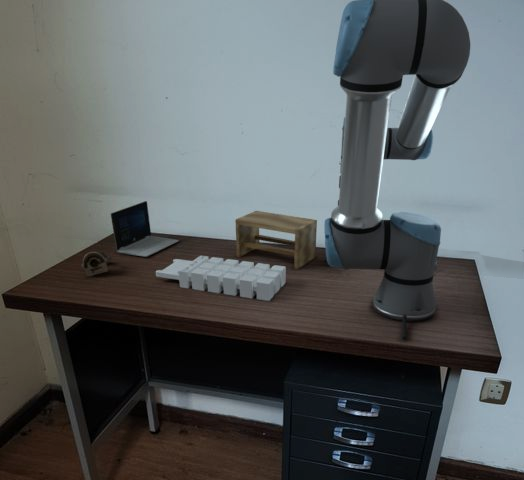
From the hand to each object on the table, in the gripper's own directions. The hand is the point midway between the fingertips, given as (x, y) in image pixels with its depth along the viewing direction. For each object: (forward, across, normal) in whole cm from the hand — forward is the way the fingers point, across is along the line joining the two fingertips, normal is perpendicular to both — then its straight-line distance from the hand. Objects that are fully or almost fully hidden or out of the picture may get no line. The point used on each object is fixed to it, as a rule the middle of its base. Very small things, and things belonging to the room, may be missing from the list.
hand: (346, 251), depth 153 cm
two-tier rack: (+3, +8, -21) cm, 23 cm away
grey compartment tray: (+3, +34, -24) cm, 42 cm away
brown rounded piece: (+3, +44, -61) cm, 75 cm away
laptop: (+3, +21, -63) cm, 66 cm away
